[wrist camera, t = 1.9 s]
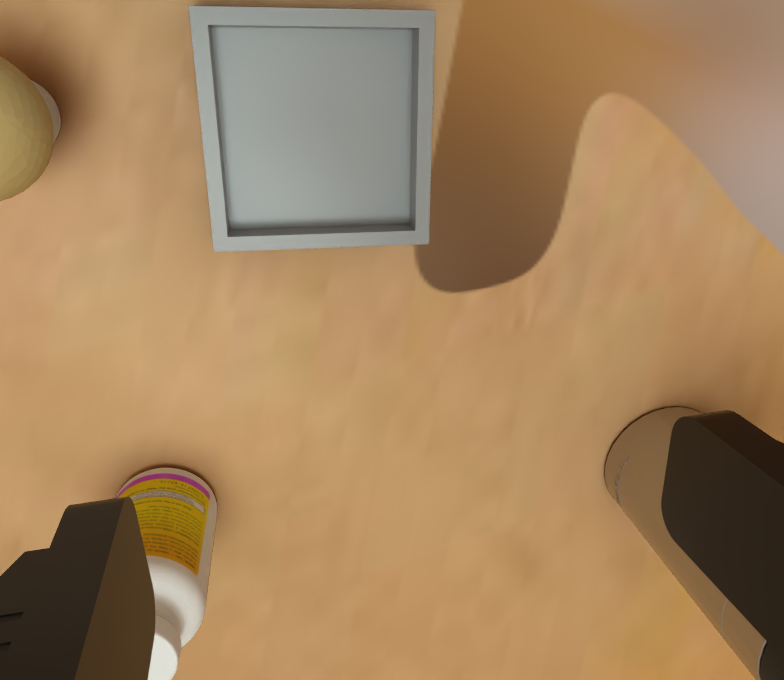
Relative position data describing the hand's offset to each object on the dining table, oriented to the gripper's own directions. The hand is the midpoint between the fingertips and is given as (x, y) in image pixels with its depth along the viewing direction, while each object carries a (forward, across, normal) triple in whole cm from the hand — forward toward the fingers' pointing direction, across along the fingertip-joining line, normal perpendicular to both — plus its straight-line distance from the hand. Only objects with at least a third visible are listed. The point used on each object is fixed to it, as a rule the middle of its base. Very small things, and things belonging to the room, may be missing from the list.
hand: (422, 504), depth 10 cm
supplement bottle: (+31, +10, +21) cm, 39 cm away
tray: (+30, -2, -3) cm, 31 cm away
